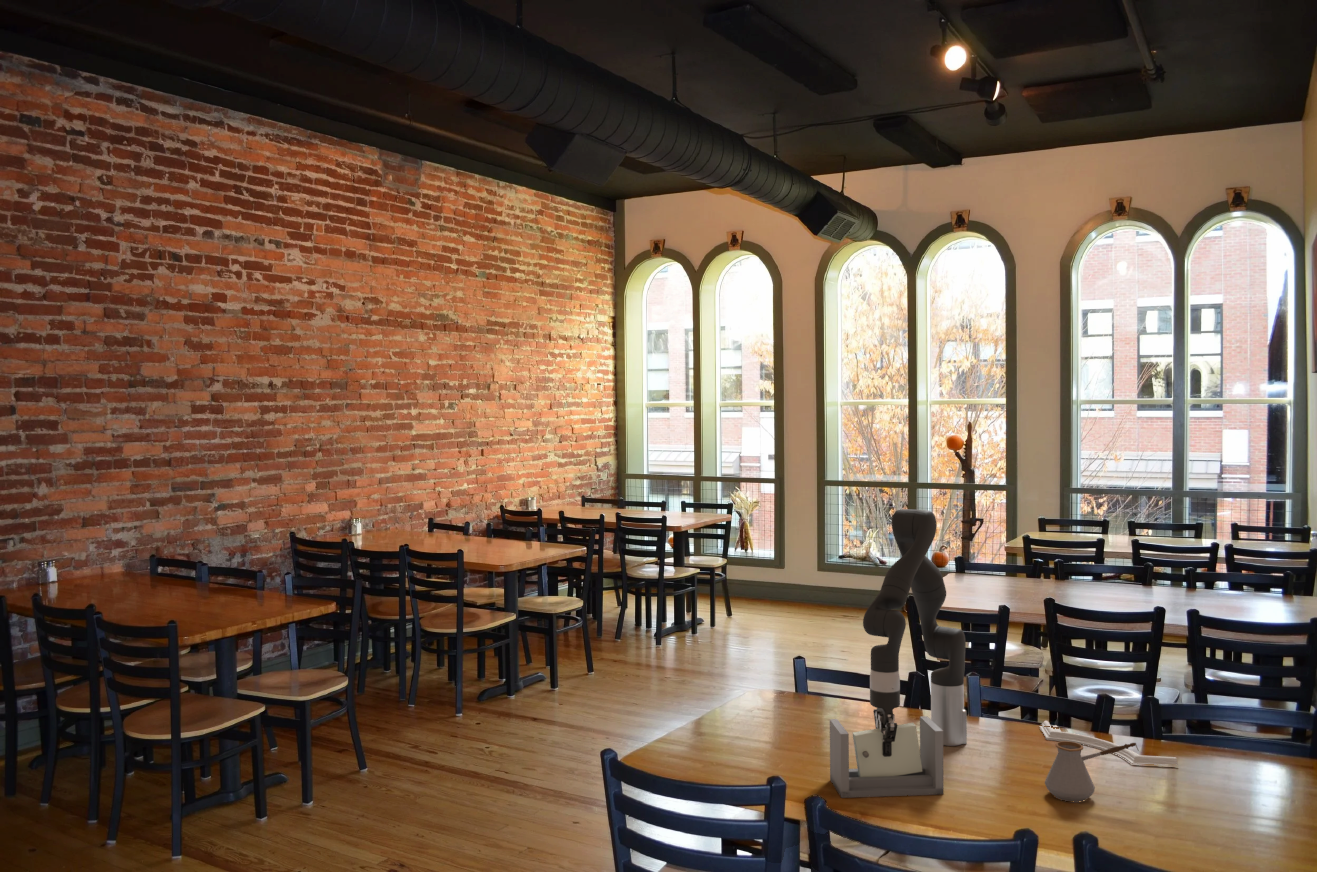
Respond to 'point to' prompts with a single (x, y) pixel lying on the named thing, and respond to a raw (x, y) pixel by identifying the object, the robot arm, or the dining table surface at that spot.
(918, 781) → the grey rack
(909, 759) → the door panel
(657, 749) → the dining table surface
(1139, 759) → the molding
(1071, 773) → the coffee pot
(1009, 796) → the dining table surface
